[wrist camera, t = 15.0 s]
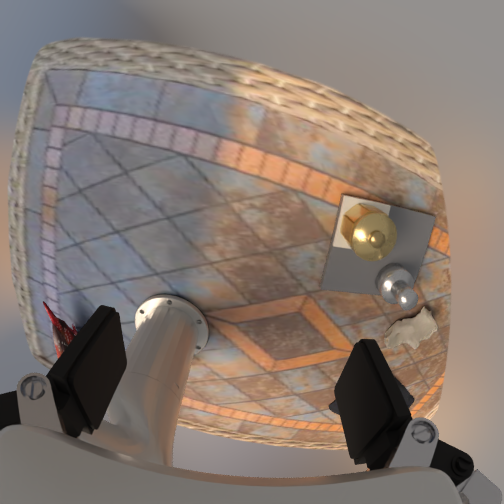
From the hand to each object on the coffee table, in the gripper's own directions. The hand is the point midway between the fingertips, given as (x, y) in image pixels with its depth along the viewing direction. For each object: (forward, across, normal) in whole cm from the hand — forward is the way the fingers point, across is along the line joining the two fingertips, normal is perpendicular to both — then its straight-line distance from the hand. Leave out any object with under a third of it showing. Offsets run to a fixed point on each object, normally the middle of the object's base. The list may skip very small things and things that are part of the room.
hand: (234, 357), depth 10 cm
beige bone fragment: (+29, -31, +17) cm, 46 cm away
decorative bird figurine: (+28, +31, +27) cm, 50 cm away
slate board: (+28, -20, +4) cm, 35 cm away
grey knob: (+27, -23, +8) cm, 37 cm away
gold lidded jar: (+27, -15, 0) cm, 31 cm away
